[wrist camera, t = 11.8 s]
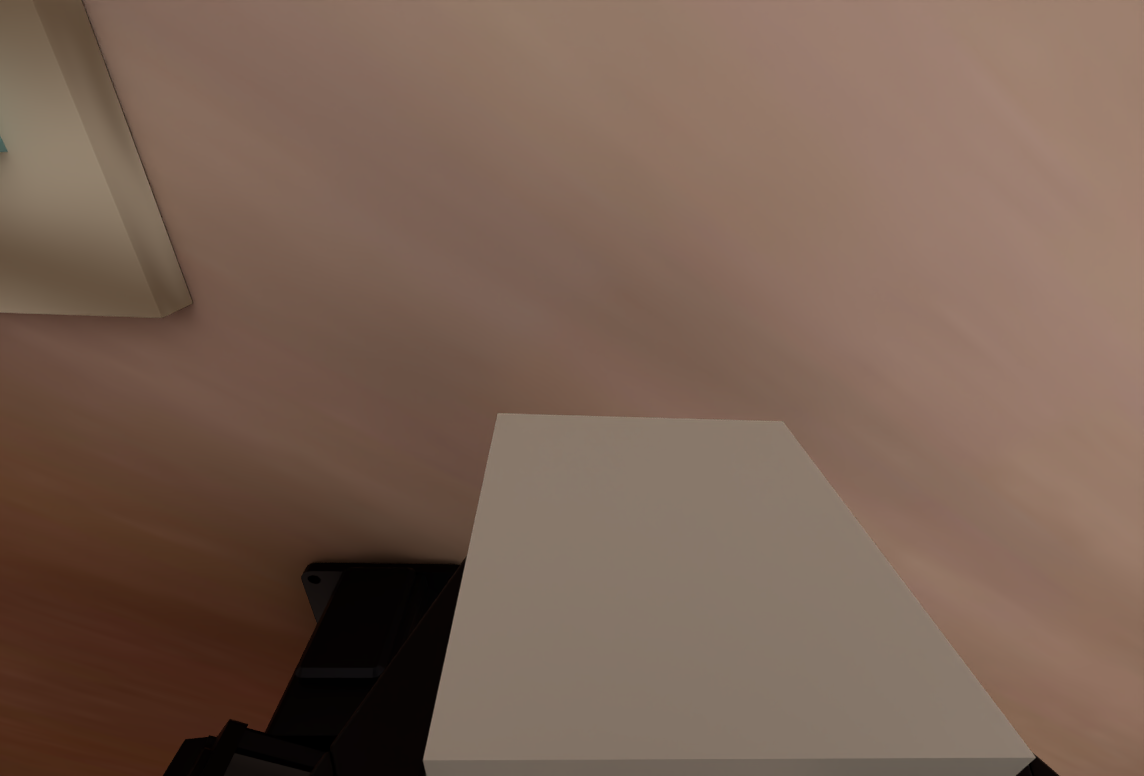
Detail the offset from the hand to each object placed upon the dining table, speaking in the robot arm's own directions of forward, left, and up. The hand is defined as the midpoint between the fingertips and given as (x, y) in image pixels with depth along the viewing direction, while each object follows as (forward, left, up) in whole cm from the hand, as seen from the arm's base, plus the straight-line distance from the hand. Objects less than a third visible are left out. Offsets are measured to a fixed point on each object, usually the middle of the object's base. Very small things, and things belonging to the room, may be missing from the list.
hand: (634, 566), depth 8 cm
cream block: (0, 0, -1) cm, 1 cm away
